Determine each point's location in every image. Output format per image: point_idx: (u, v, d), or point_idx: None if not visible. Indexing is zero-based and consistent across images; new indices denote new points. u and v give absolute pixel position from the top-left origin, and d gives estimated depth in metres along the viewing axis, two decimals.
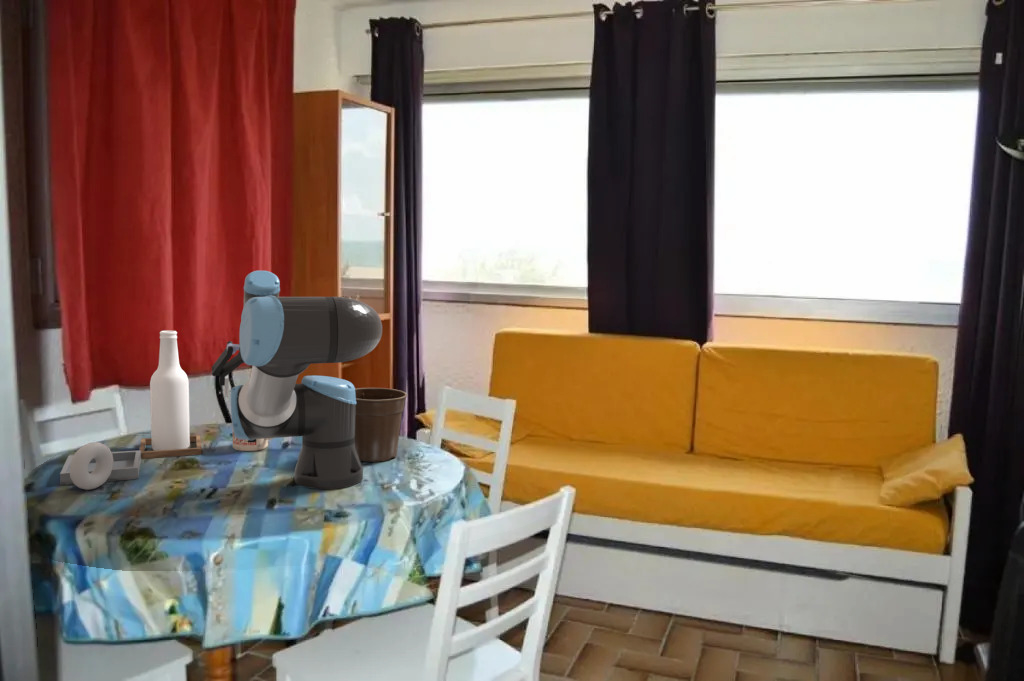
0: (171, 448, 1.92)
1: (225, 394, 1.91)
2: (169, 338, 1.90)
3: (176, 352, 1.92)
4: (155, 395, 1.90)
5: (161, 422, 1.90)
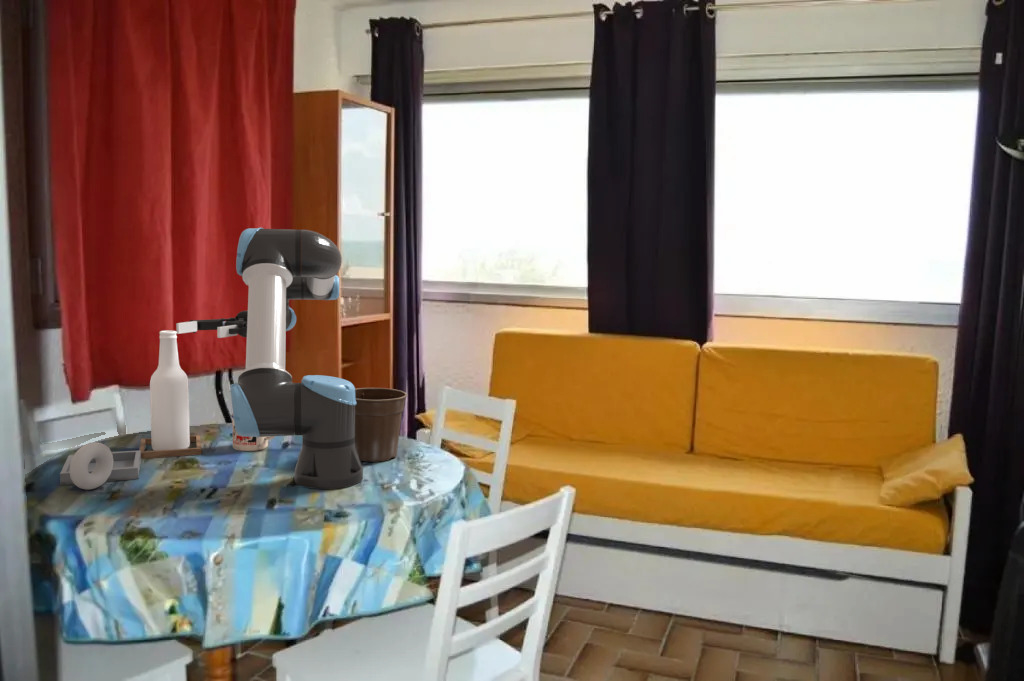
0: (171, 448, 1.92)
1: (179, 323, 2.04)
2: (169, 338, 1.90)
3: (176, 352, 1.92)
4: (155, 395, 1.90)
5: (161, 422, 1.90)
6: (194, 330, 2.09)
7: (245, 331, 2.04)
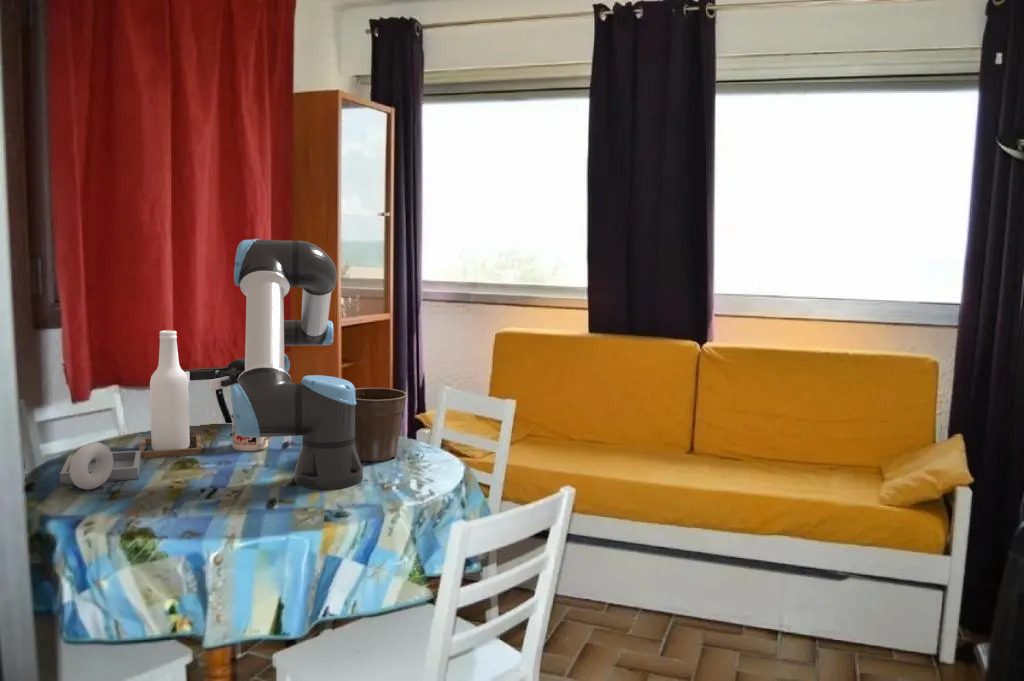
0: (171, 448, 1.92)
1: None
2: (169, 338, 1.90)
3: (176, 352, 1.92)
4: (155, 395, 1.90)
5: (161, 422, 1.90)
6: None
7: (237, 382, 2.03)
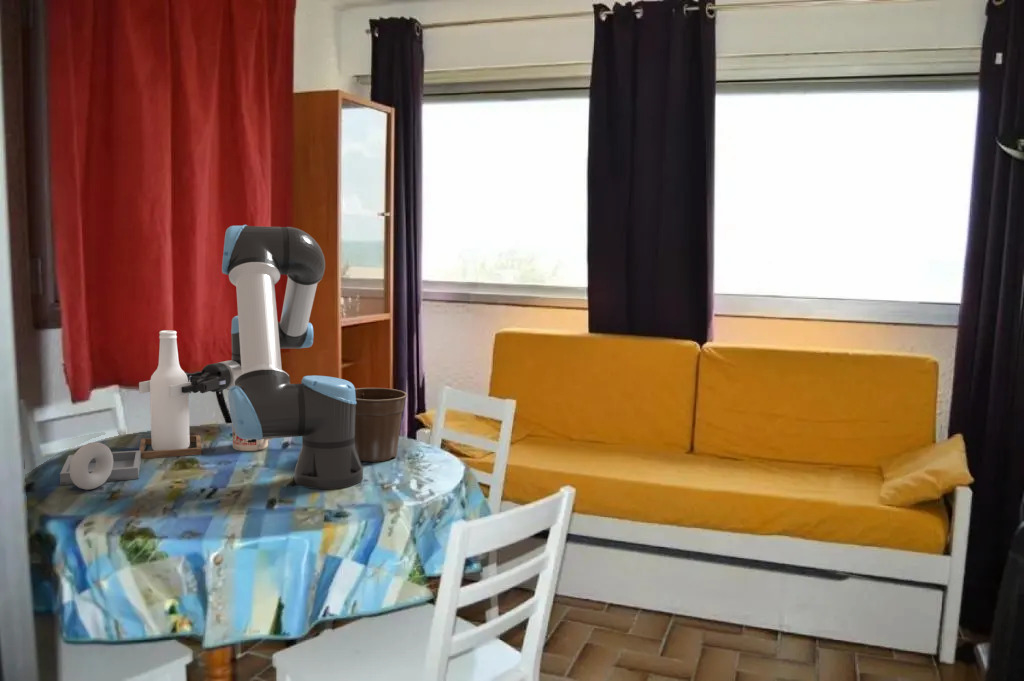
0: (171, 448, 1.92)
1: (142, 382, 1.92)
2: (169, 338, 1.90)
3: (176, 352, 1.92)
4: (155, 395, 1.90)
5: (161, 422, 1.90)
6: None
7: (199, 388, 1.93)
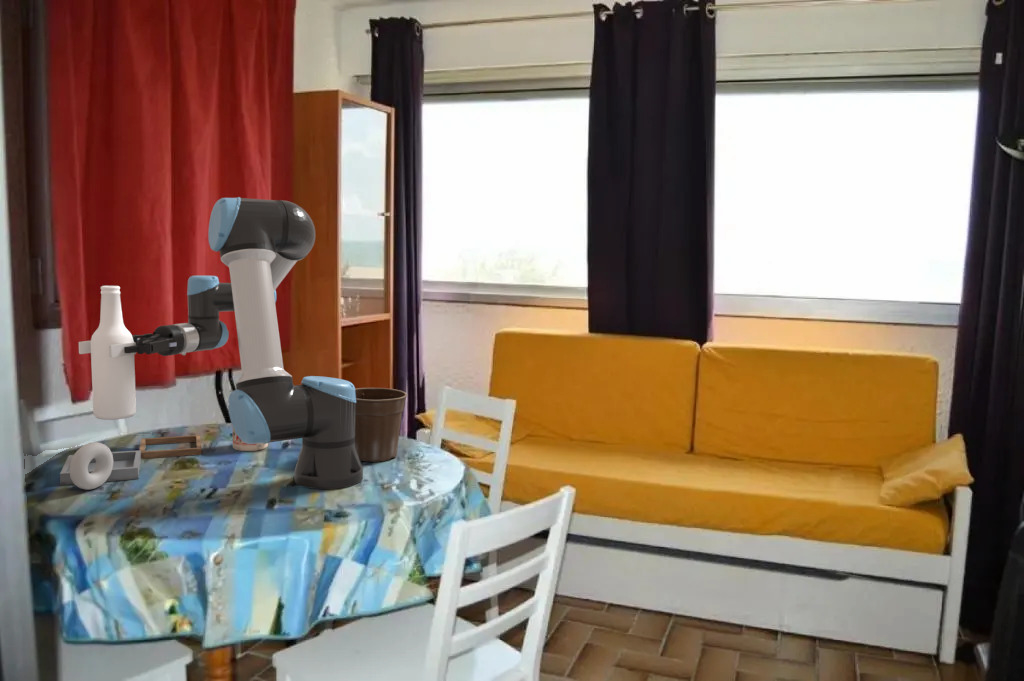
0: (113, 414, 1.75)
1: None
2: (110, 293, 1.74)
3: (119, 309, 1.76)
4: (95, 356, 1.73)
5: (102, 385, 1.74)
6: None
7: (144, 349, 1.77)
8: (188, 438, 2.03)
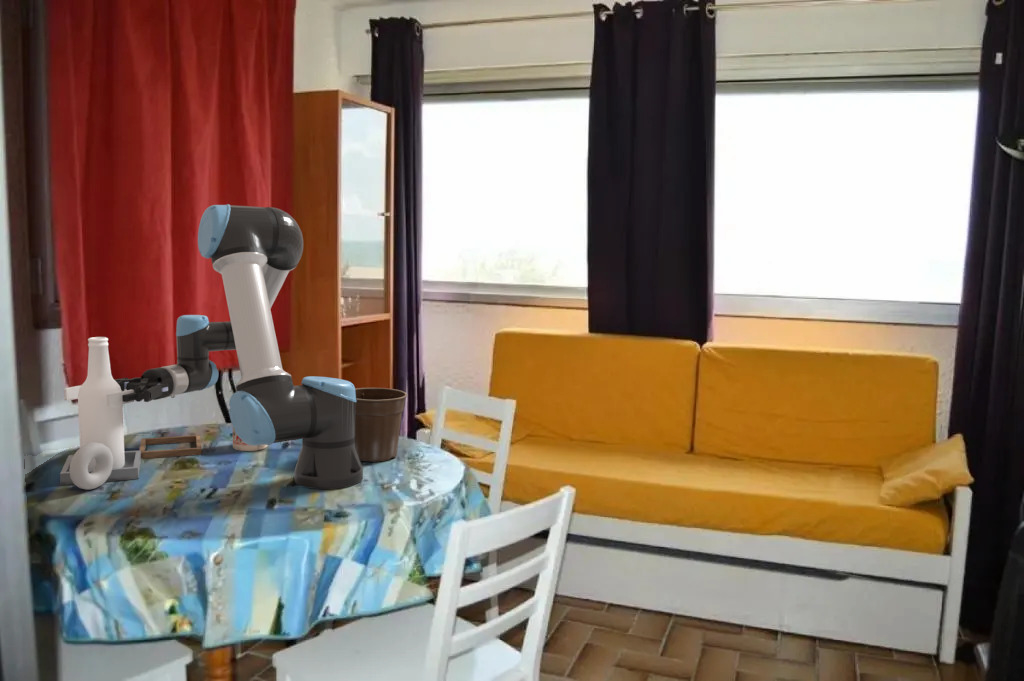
0: None
1: (67, 388, 1.73)
2: (98, 346, 1.70)
3: (107, 361, 1.72)
4: (83, 410, 1.70)
5: (90, 440, 1.70)
6: None
7: (143, 397, 1.73)
8: (188, 438, 2.03)
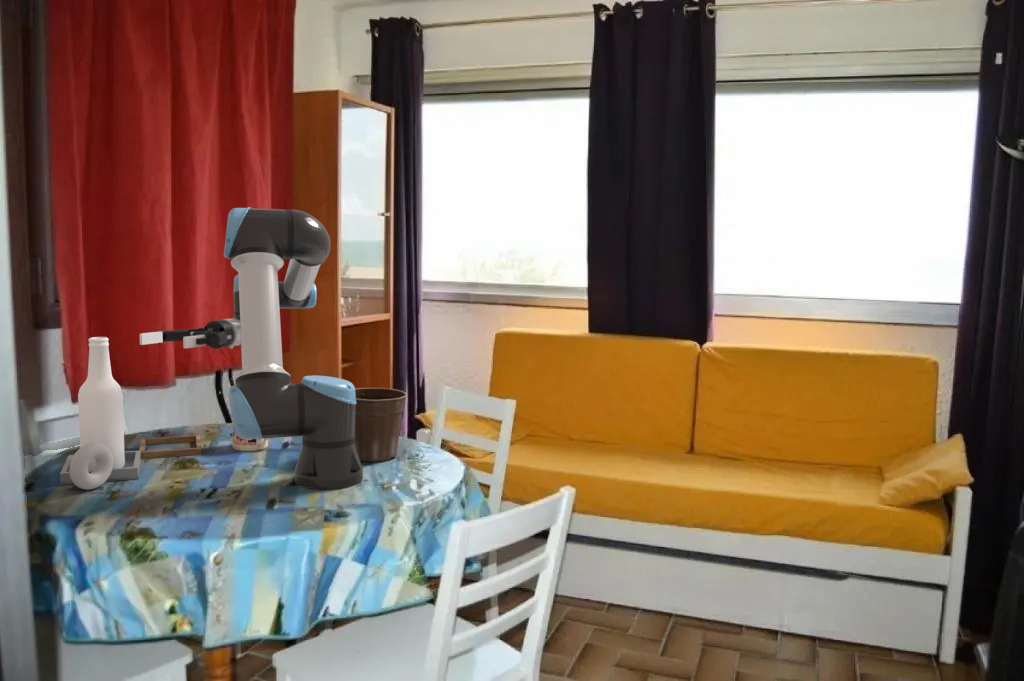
0: None
1: (142, 333, 1.90)
2: (99, 346, 1.70)
3: (107, 361, 1.72)
4: (83, 410, 1.70)
5: (90, 440, 1.70)
6: (159, 341, 1.95)
7: (214, 341, 1.91)
8: (188, 438, 2.03)
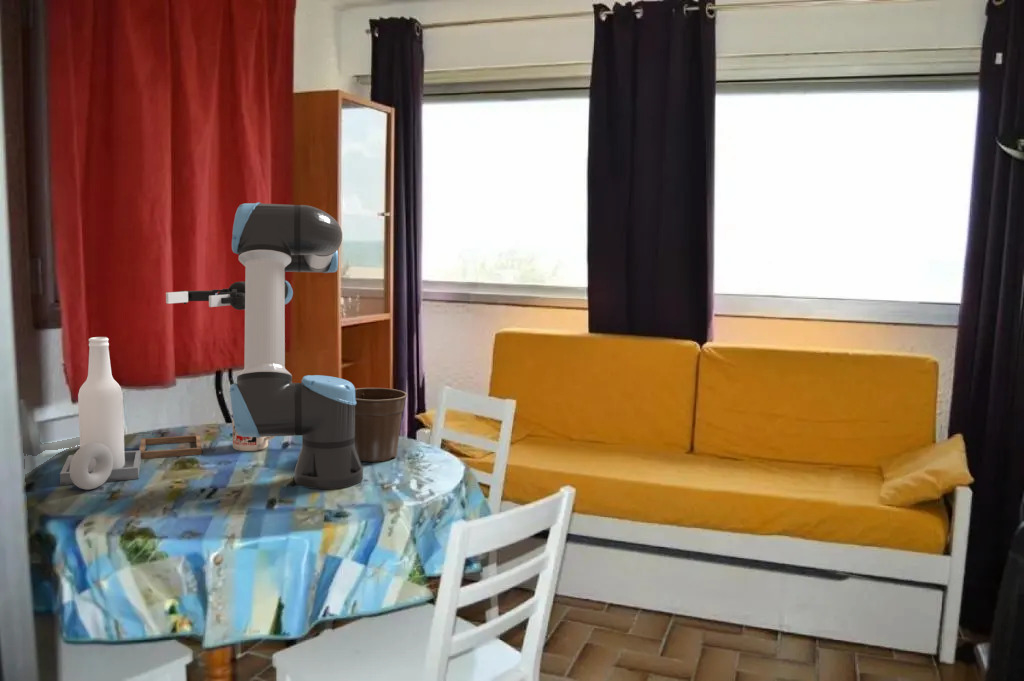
0: None
1: (169, 292, 1.94)
2: (99, 346, 1.70)
3: (107, 361, 1.72)
4: (83, 410, 1.70)
5: (90, 440, 1.70)
6: (185, 301, 1.98)
7: (238, 301, 1.94)
8: (188, 438, 2.03)
